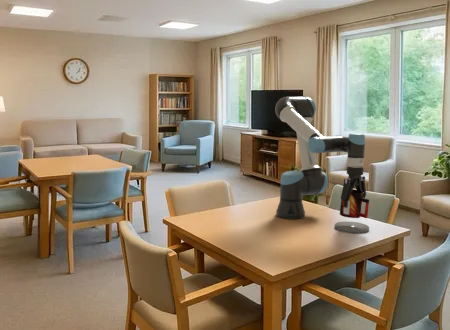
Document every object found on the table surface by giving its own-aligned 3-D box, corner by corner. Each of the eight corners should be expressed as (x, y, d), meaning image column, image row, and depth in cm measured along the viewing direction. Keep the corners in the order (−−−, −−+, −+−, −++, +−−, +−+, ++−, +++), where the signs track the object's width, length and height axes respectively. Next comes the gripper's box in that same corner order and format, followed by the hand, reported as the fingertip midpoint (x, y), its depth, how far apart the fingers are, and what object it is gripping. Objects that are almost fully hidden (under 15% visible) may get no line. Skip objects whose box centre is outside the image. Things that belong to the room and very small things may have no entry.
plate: (327, 227, 218) (328, 224, 218) (347, 222, 229) (347, 219, 228) (356, 235, 206) (356, 232, 206) (375, 229, 216) (375, 226, 216)
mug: (366, 220, 209) (369, 195, 207) (337, 215, 215) (339, 190, 214) (371, 217, 217) (374, 192, 215) (342, 211, 224) (345, 188, 222)
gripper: (347, 169, 203) (345, 217, 206) (375, 165, 217) (373, 210, 220) (334, 167, 209) (331, 214, 212) (362, 163, 223) (359, 207, 226)
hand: (352, 212), depth 216 cm, fingers closed on mug, 10 cm apart
